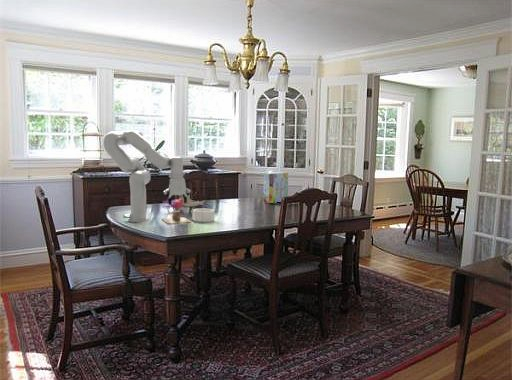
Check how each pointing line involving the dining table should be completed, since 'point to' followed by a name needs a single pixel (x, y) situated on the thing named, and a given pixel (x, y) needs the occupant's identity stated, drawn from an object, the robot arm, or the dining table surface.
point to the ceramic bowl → (203, 215)
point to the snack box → (275, 186)
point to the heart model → (175, 204)
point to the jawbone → (190, 201)
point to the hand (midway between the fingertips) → (177, 203)
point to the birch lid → (176, 219)
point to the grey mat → (175, 224)
